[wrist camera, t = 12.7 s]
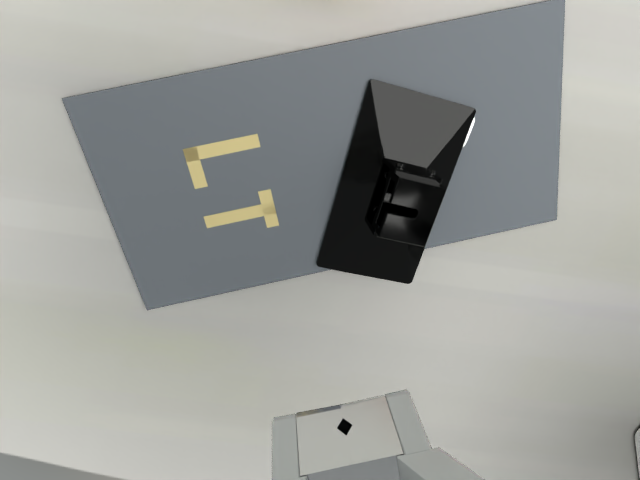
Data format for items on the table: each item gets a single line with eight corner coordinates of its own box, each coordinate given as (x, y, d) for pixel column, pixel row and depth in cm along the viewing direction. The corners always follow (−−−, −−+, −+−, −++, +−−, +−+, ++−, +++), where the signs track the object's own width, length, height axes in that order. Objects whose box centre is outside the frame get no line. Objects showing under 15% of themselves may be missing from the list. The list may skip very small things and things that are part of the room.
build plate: (368, 77, 27) (389, 82, 22) (478, 108, 28) (517, 118, 24) (315, 264, 31) (324, 298, 27) (412, 282, 32) (436, 317, 28)
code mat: (554, 218, 32) (556, 219, 32) (148, 307, 31) (146, 310, 31) (562, -2, 26) (565, -3, 26) (64, 97, 25) (61, 98, 25)
